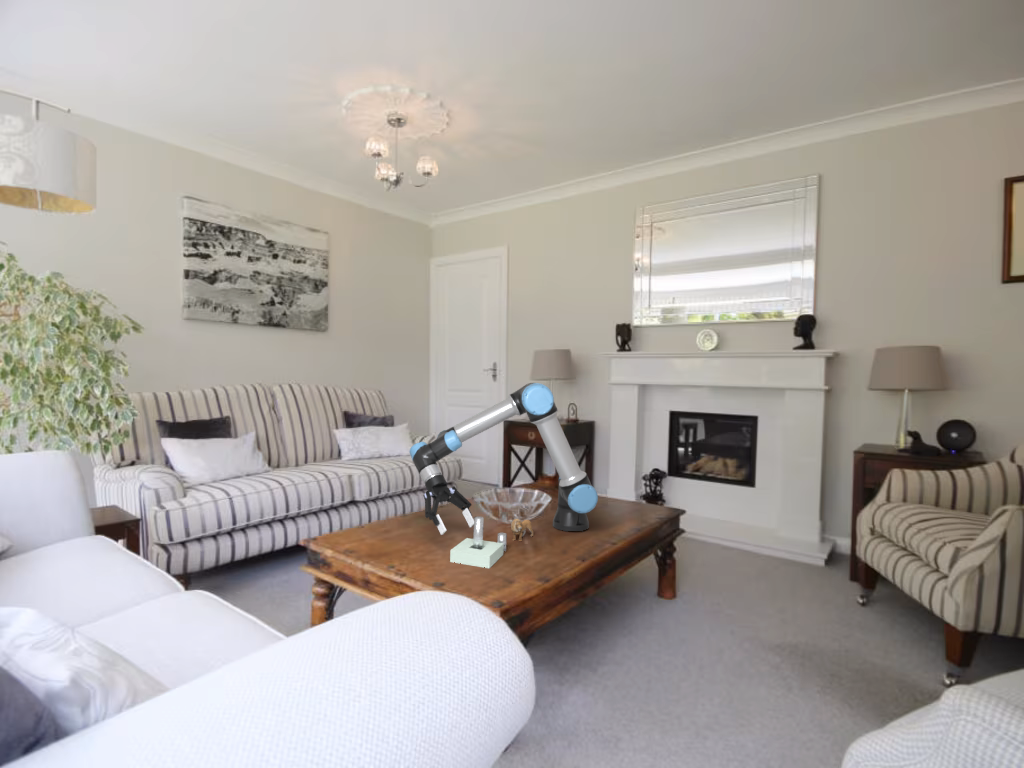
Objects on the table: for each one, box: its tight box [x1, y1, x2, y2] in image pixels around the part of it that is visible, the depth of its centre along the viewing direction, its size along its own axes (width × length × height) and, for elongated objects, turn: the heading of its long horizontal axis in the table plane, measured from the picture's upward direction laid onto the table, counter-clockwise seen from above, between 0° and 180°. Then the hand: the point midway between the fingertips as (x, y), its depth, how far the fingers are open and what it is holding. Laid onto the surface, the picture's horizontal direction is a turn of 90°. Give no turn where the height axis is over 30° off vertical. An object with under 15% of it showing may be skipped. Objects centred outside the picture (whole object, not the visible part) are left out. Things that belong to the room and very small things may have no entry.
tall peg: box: [472, 516, 485, 550], centre depth 182 cm, size 3×3×14 cm
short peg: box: [497, 532, 508, 553], centre depth 191 cm, size 3×3×6 cm
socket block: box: [449, 537, 504, 569], centre depth 182 cm, size 14×14×4 cm
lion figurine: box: [510, 518, 534, 542], centre depth 205 cm, size 15×5×9 cm, turn 153°
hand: (458, 529), depth 188 cm, fingers open, 13 cm apart
